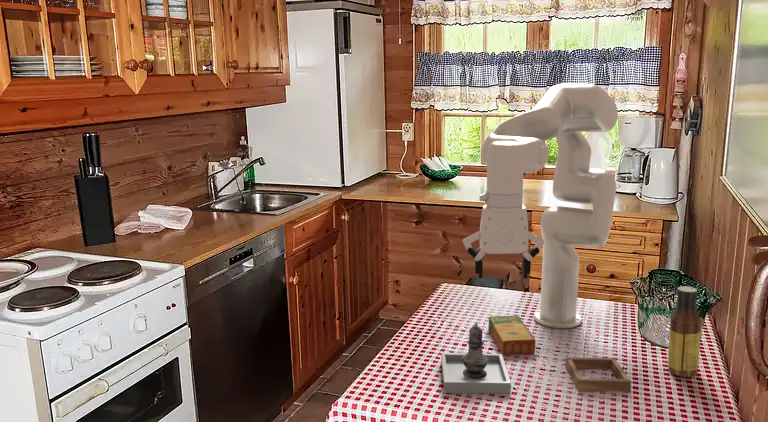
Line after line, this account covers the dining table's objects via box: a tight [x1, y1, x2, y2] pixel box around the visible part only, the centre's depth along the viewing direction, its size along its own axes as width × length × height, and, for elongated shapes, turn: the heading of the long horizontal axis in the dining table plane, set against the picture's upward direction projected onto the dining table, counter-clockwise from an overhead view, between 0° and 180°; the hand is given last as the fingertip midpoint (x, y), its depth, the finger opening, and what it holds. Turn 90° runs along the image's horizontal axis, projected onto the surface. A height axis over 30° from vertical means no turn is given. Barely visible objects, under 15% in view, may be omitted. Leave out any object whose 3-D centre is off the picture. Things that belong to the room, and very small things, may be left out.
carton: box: [487, 315, 537, 356], centre depth 158 cm, size 8×16×4 cm, turn 3°
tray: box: [440, 352, 512, 395], centre depth 139 cm, size 14×14×2 cm
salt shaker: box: [462, 322, 489, 379], centre depth 138 cm, size 6×6×12 cm
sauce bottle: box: [667, 285, 702, 378], centre depth 139 cm, size 6×6×20 cm
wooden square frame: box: [565, 357, 632, 393], centre depth 138 cm, size 11×11×2 cm
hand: (502, 276), depth 136 cm, fingers open, 9 cm apart
